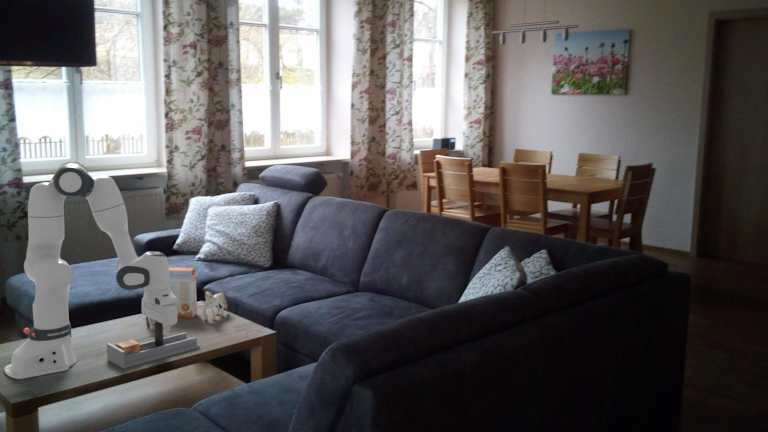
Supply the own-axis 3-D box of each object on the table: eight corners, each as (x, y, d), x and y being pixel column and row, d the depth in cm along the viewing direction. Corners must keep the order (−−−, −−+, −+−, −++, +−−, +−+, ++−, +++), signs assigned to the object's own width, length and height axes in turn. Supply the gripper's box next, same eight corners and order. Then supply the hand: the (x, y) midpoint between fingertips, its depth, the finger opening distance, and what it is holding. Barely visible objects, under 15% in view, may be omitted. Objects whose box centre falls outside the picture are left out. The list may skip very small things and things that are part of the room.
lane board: (122, 368, 242) (122, 352, 242) (107, 359, 251) (106, 343, 250) (199, 347, 264) (199, 332, 263) (183, 339, 272) (182, 325, 271)
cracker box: (197, 314, 305) (196, 267, 301) (192, 318, 299) (190, 270, 296) (166, 312, 306) (164, 266, 303) (160, 317, 300) (158, 269, 297)
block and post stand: (124, 361, 246) (122, 334, 244) (116, 357, 250) (115, 330, 248) (167, 349, 258) (166, 324, 256) (159, 345, 261) (158, 320, 260)
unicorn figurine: (198, 325, 289) (197, 294, 287) (212, 311, 308) (211, 282, 306) (215, 326, 289) (214, 294, 287) (228, 312, 308) (227, 282, 306)
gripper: (136, 291, 260) (138, 327, 262) (163, 302, 246) (165, 340, 248) (151, 288, 265) (153, 323, 267) (179, 299, 250) (181, 336, 253)
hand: (159, 331), depth 258 cm, fingers open, 8 cm apart
